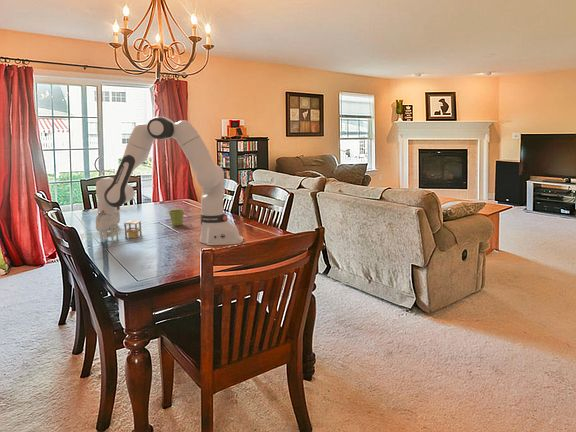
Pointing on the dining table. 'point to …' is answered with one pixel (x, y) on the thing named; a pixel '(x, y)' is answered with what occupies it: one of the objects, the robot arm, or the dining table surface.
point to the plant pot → (177, 217)
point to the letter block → (132, 234)
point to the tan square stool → (133, 228)
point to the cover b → (110, 233)
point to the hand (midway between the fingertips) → (109, 235)
